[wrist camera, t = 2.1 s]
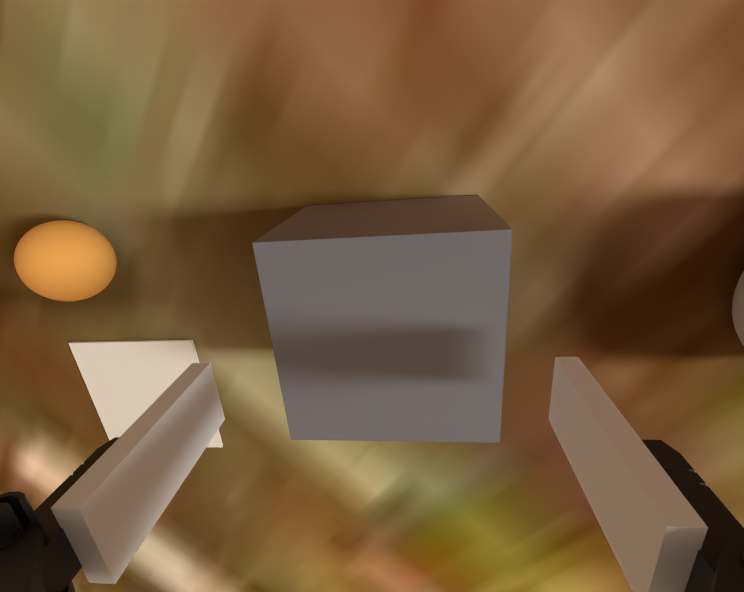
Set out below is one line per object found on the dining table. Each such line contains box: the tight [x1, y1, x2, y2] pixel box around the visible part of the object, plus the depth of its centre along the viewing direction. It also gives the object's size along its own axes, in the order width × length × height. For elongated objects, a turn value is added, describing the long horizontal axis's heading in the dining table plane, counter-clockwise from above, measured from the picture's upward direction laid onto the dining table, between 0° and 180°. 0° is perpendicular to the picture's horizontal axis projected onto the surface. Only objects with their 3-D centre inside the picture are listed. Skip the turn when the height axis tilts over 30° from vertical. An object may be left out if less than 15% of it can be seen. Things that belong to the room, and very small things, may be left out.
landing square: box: [68, 339, 223, 447], centre depth 31 cm, size 10×10×1 cm
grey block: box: [252, 195, 513, 442], centre depth 21 cm, size 10×10×9 cm
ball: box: [14, 220, 117, 301], centre depth 24 cm, size 5×5×5 cm
